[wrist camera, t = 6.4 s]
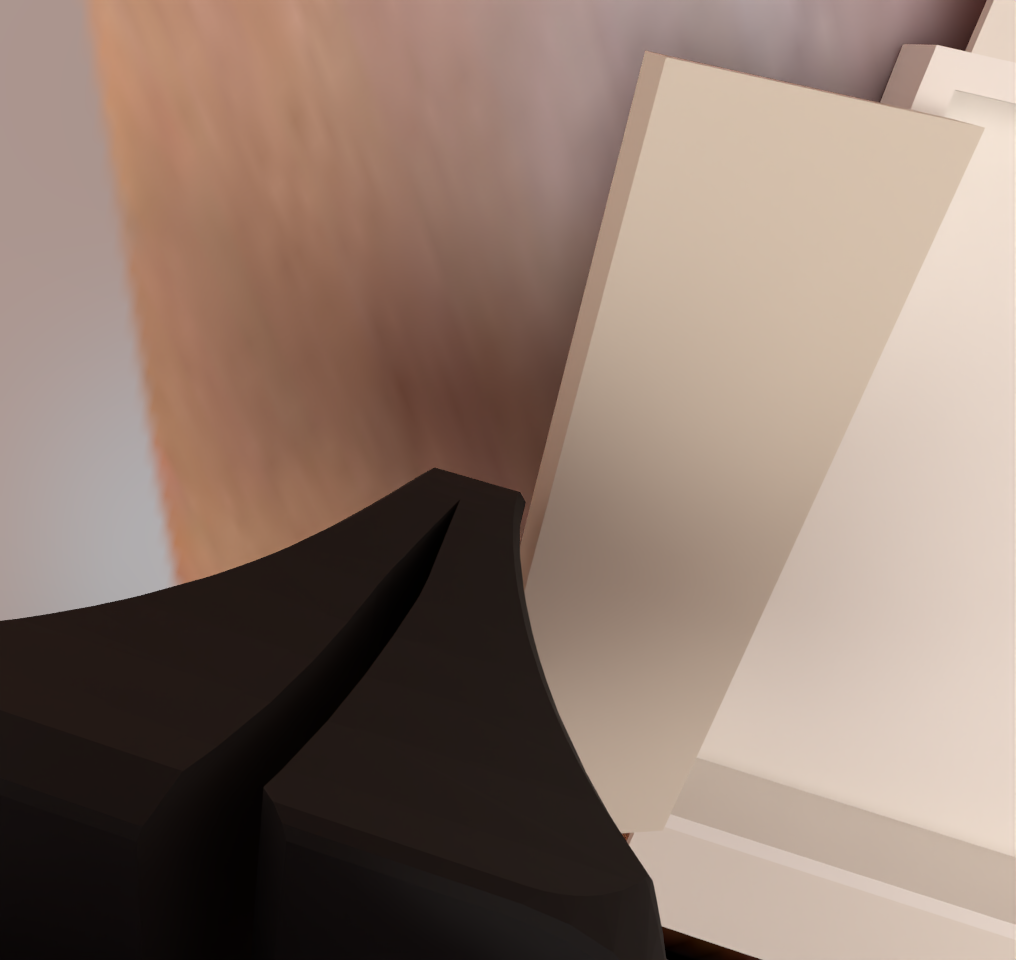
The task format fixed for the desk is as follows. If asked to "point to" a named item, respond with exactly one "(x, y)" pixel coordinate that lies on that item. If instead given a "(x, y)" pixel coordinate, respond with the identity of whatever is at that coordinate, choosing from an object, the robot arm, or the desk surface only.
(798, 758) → the carton
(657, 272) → the flap
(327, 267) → the desk surface
